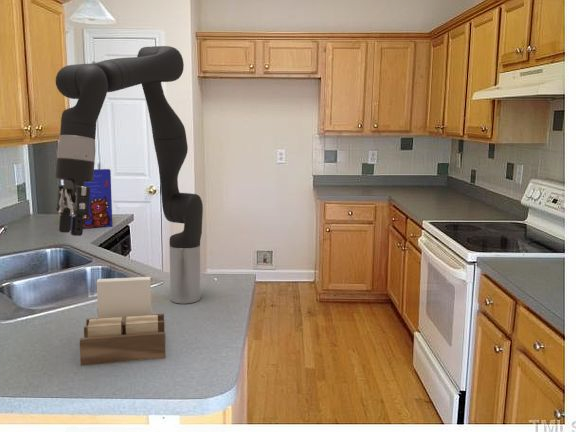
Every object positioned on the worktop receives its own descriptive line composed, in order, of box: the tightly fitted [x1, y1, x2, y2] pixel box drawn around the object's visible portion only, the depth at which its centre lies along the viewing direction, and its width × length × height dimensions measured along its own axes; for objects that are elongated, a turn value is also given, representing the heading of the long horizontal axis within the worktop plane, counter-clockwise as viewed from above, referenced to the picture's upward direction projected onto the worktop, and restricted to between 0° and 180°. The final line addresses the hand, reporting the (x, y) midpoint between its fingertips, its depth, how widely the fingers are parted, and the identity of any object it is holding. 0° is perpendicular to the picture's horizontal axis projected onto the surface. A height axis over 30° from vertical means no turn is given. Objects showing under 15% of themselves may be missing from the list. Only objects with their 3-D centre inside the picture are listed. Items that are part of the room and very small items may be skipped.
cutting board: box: [96, 276, 152, 323], centre depth 121 cm, size 2×12×16 cm, turn 105°
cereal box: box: [62, 168, 114, 231], centre depth 259 cm, size 22×6×30 cm, turn 122°
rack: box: [79, 313, 166, 366], centre depth 118 cm, size 13×18×7 cm
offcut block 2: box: [126, 315, 158, 335], centre depth 117 cm, size 4×7×8 cm, turn 105°
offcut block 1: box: [87, 317, 123, 338], centre depth 115 cm, size 4×7×8 cm, turn 105°
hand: (70, 233), depth 109 cm, fingers open, 8 cm apart
